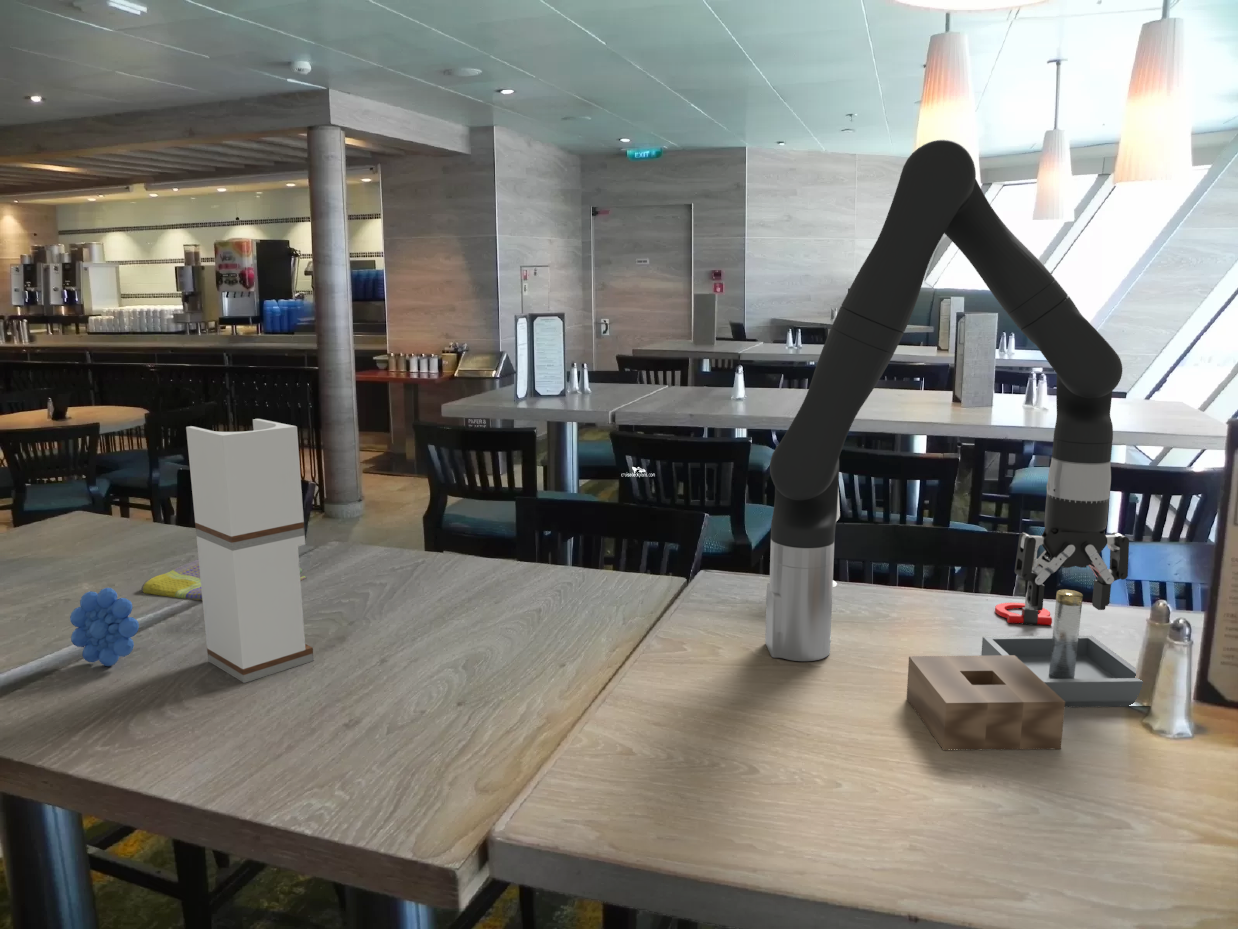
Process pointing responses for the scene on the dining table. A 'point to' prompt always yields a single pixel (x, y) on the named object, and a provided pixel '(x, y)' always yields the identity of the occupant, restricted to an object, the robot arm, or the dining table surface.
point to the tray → (1096, 670)
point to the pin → (1065, 634)
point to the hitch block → (984, 703)
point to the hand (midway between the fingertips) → (1067, 608)
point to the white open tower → (250, 547)
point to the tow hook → (1024, 611)
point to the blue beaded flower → (104, 626)
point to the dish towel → (179, 582)
